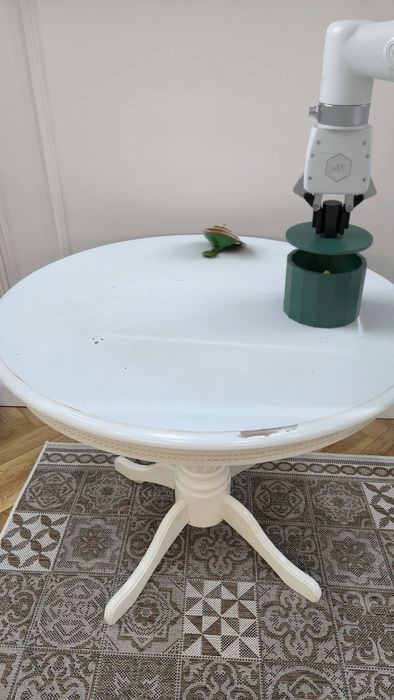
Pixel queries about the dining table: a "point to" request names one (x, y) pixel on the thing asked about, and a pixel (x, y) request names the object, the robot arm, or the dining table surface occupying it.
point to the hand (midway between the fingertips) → (329, 231)
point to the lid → (329, 234)
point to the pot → (324, 288)
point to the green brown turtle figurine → (219, 239)
